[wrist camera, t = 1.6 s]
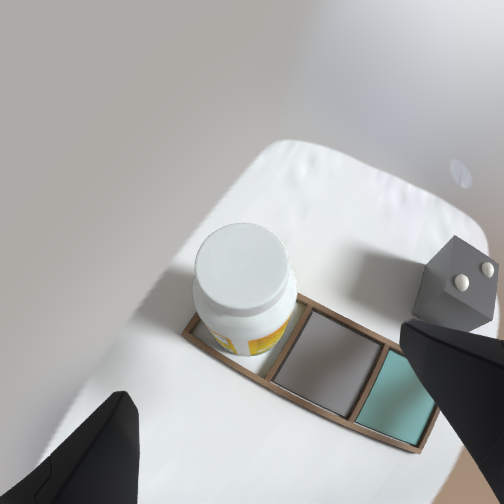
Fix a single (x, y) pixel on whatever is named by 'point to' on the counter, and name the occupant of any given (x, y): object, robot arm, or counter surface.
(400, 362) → the board
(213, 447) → the counter surface
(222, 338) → the supplement bottle
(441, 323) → the die
